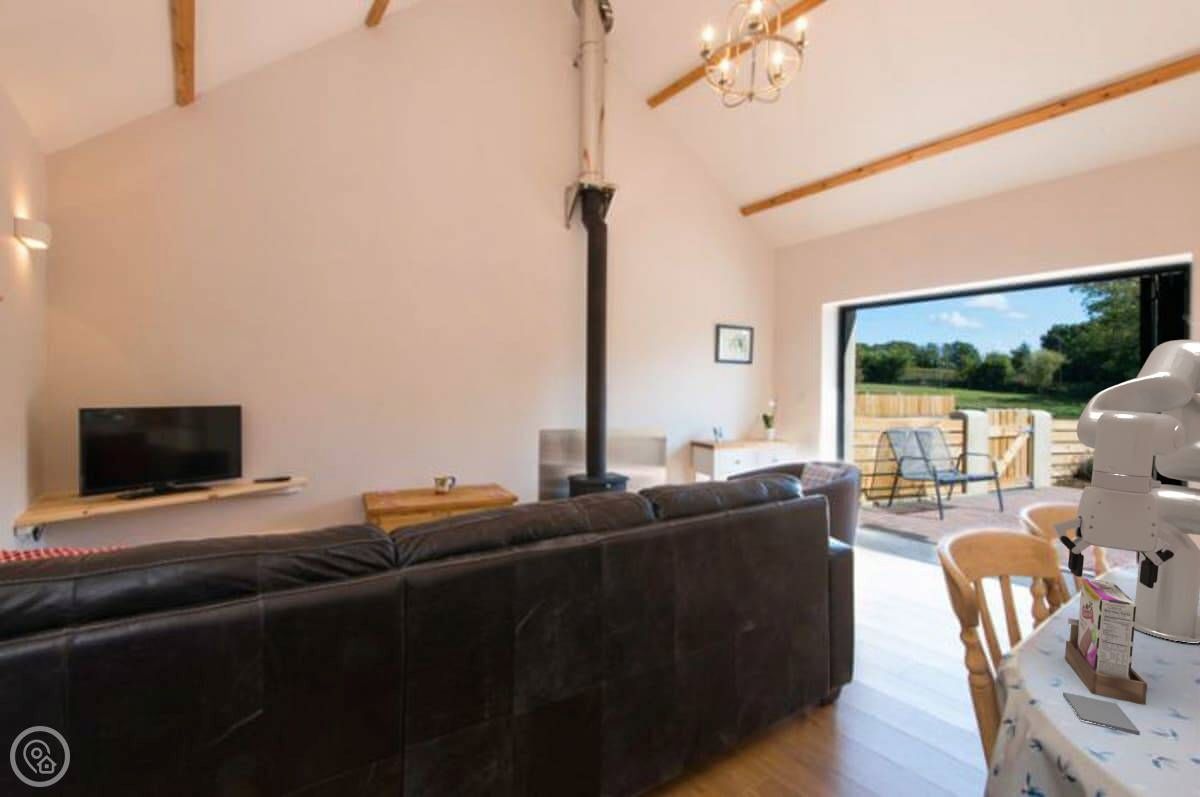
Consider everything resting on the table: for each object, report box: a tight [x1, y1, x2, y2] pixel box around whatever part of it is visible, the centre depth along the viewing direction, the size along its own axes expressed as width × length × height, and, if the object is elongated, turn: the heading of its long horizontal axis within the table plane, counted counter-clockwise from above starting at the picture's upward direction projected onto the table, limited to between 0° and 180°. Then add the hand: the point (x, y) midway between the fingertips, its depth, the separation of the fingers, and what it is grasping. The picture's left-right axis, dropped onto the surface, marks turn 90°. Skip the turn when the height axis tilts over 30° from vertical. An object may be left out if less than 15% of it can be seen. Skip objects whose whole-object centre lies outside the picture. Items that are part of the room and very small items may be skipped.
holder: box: [1064, 617, 1148, 705], centre depth 100 cm, size 7×13×8 cm, turn 156°
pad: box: [1062, 691, 1141, 736], centre depth 90 cm, size 7×8×1 cm
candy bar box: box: [1077, 577, 1137, 679], centre depth 100 cm, size 11×5×16 cm, turn 153°
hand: (1110, 579), depth 99 cm, fingers open, 9 cm apart
